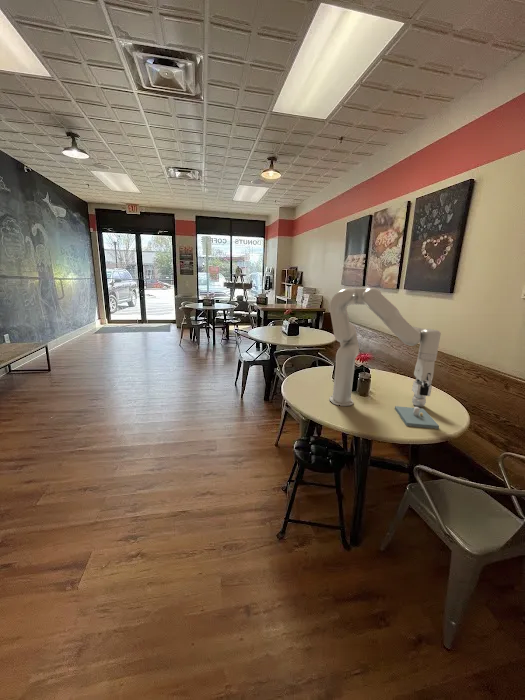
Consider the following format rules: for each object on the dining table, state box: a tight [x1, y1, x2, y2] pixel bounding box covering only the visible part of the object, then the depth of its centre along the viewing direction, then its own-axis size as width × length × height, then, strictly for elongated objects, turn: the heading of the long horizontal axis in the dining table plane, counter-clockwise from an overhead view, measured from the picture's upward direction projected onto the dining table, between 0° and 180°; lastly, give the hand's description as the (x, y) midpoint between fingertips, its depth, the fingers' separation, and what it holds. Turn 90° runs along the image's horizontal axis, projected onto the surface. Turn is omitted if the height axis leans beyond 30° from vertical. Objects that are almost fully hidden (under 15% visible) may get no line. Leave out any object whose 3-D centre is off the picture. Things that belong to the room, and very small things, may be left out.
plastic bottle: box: [411, 380, 427, 408], centre depth 154 cm, size 6×7×20 cm
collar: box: [411, 380, 433, 397], centre depth 138 cm, size 6×6×5 cm
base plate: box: [394, 405, 440, 430], centre depth 141 cm, size 18×14×6 cm
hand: (420, 392), depth 138 cm, fingers closed on collar, 6 cm apart
